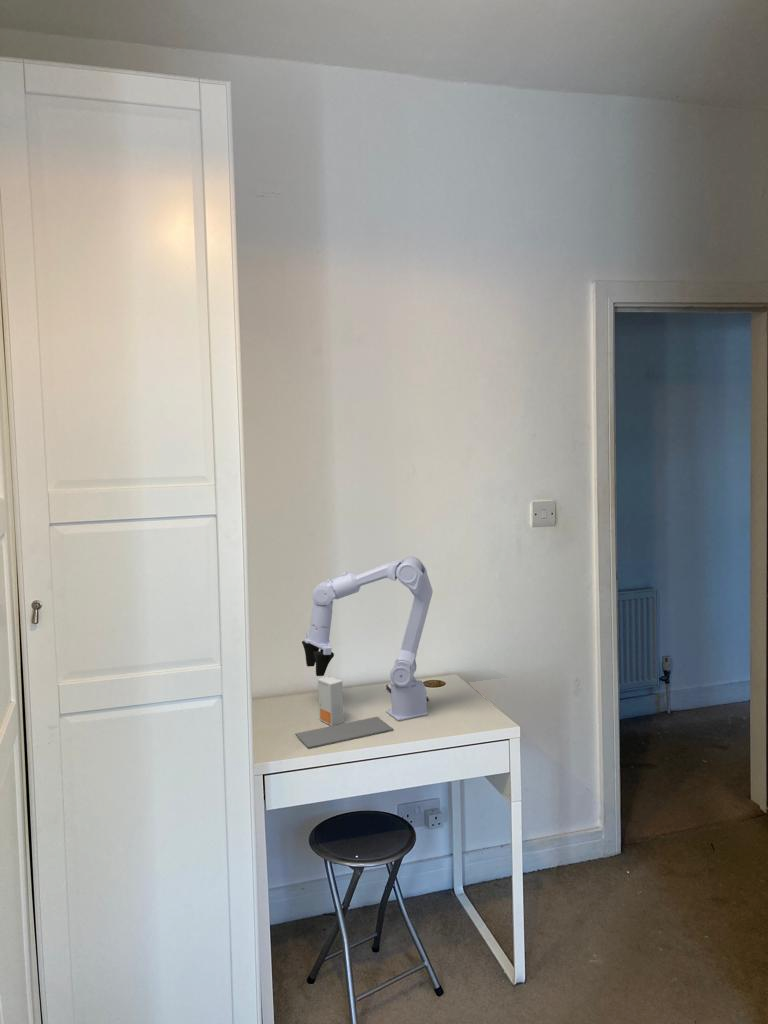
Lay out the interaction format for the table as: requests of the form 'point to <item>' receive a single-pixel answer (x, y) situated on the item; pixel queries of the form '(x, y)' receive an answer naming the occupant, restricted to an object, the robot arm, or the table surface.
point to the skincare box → (330, 700)
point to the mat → (343, 732)
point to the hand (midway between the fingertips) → (315, 670)
